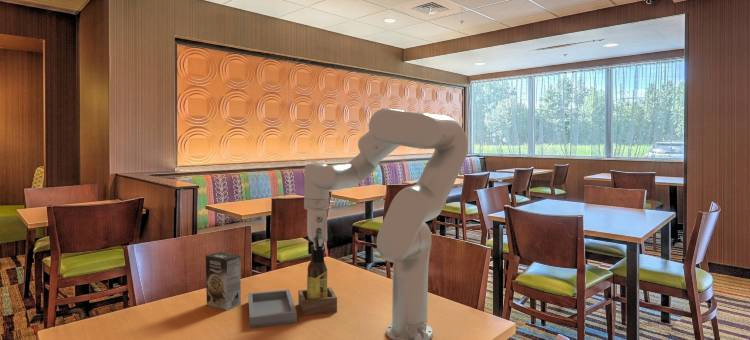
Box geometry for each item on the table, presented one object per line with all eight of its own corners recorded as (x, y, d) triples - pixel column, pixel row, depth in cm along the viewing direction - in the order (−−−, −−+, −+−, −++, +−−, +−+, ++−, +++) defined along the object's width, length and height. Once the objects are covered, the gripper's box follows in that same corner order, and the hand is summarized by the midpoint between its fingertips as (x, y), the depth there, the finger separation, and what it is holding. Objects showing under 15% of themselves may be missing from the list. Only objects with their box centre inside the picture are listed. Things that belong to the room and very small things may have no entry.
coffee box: (205, 305, 139) (204, 255, 138) (221, 299, 144) (220, 250, 143) (226, 311, 135) (225, 259, 133) (242, 304, 140) (241, 254, 139)
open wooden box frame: (337, 311, 134) (337, 297, 134) (302, 315, 131) (302, 301, 131) (330, 300, 143) (330, 287, 143) (298, 304, 140) (298, 290, 140)
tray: (296, 322, 126) (296, 312, 126) (249, 328, 123) (249, 317, 122) (289, 298, 146) (289, 289, 145) (248, 302, 142) (248, 293, 141)
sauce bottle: (323, 313, 133) (323, 248, 132) (304, 311, 135) (303, 247, 133) (330, 305, 140) (329, 243, 138) (311, 303, 141) (311, 242, 140)
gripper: (334, 208, 128) (333, 265, 129) (323, 198, 144) (322, 249, 146) (308, 208, 126) (307, 267, 127) (300, 199, 142) (299, 251, 143)
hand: (315, 257), depth 136 cm, fingers open, 9 cm apart
